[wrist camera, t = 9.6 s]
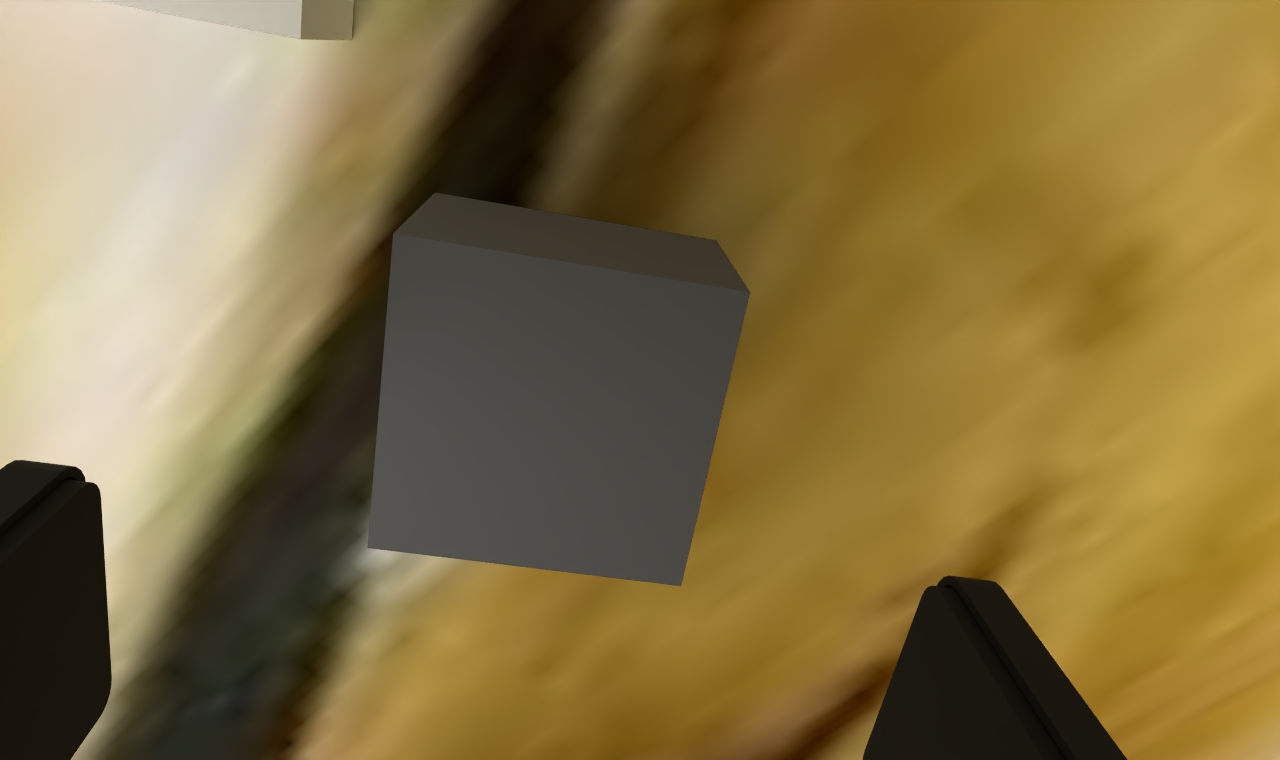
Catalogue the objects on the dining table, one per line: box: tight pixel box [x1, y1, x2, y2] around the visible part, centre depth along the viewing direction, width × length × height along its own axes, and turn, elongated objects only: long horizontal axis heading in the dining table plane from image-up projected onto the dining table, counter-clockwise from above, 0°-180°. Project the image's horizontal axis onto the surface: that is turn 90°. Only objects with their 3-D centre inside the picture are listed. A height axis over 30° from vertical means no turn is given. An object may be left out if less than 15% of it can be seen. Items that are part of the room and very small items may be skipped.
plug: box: [368, 193, 750, 586], centre depth 20 cm, size 6×6×8 cm
